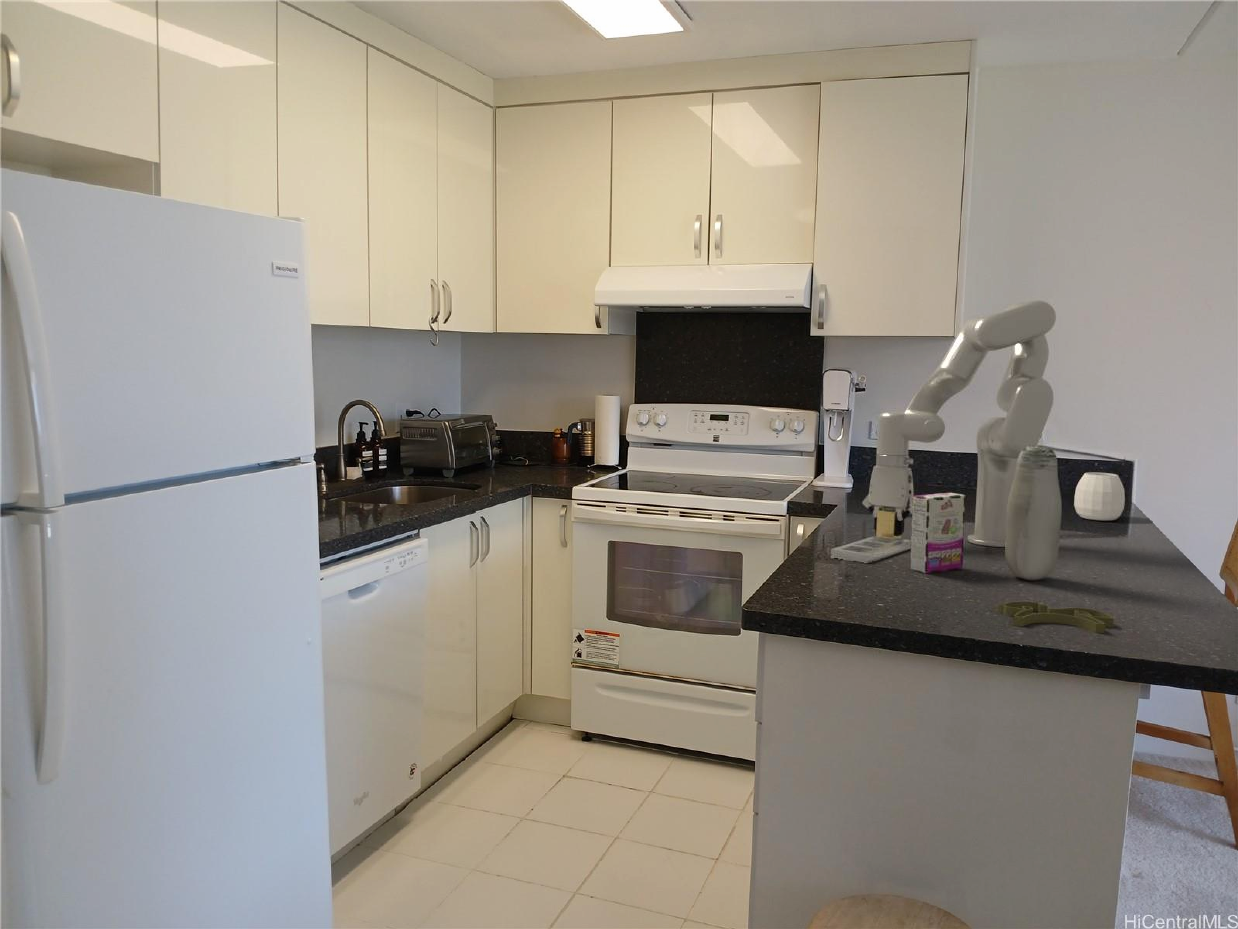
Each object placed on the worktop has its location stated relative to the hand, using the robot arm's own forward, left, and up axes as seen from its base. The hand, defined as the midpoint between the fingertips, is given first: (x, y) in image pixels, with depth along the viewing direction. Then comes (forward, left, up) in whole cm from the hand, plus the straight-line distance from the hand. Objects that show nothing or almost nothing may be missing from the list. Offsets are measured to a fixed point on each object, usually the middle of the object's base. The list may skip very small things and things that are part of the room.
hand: (888, 533), depth 229 cm
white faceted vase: (-30, -79, -2) cm, 85 cm away
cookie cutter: (-52, +49, -3) cm, 72 cm away
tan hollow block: (0, 0, -2) cm, 2 cm away
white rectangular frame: (-3, +16, -2) cm, 16 cm away
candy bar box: (-21, +23, -2) cm, 31 cm away
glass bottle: (-39, +18, -2) cm, 43 cm away
